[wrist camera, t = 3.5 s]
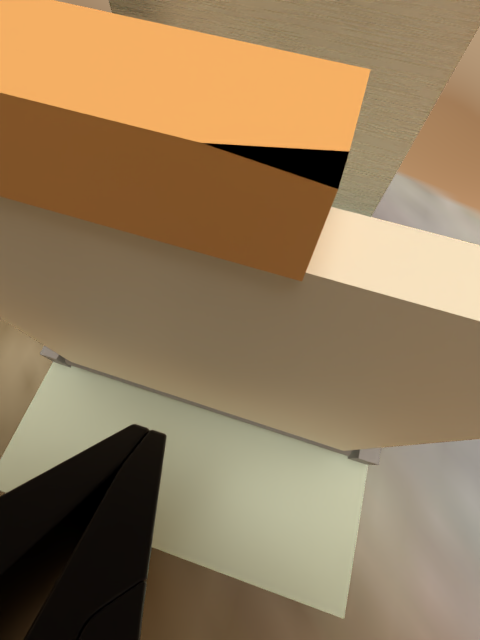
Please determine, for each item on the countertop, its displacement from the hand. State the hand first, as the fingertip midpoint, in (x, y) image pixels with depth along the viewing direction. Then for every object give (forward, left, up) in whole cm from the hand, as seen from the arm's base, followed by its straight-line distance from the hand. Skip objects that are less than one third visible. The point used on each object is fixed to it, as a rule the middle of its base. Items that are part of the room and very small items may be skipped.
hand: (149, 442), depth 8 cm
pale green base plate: (+4, -2, -8) cm, 10 cm away
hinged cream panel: (+2, -1, -6) cm, 7 cm away
